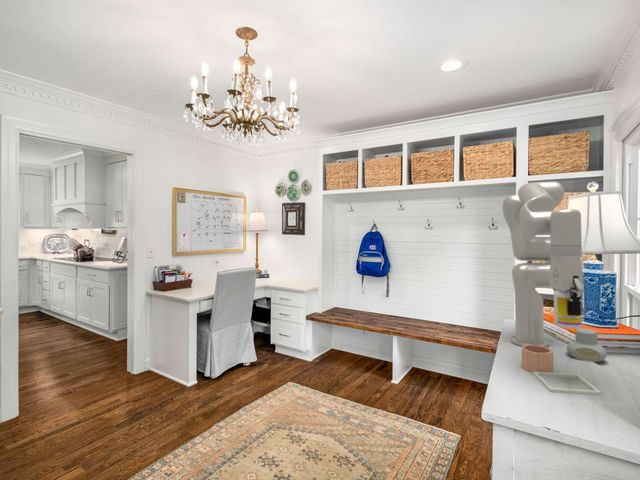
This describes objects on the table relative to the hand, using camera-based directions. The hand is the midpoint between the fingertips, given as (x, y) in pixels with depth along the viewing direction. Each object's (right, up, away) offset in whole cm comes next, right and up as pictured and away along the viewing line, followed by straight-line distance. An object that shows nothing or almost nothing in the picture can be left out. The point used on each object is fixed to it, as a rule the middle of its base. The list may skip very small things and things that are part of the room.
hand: (567, 312), depth 102 cm
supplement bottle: (0, -4, 0) cm, 4 cm away
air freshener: (+19, -20, +17) cm, 32 cm away
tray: (-3, -21, -3) cm, 21 cm away
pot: (-4, -20, +8) cm, 22 cm away
